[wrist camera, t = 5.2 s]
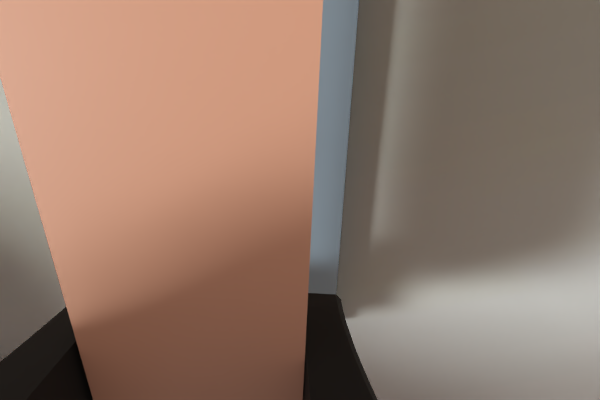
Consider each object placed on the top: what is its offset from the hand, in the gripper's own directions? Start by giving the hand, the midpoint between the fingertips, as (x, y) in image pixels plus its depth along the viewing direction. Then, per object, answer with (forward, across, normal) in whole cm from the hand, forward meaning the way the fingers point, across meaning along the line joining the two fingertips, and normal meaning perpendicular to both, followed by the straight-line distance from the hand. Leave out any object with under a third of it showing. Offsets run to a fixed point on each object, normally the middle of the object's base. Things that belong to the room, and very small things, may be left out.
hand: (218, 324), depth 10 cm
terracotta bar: (+3, 0, 0) cm, 3 cm away
